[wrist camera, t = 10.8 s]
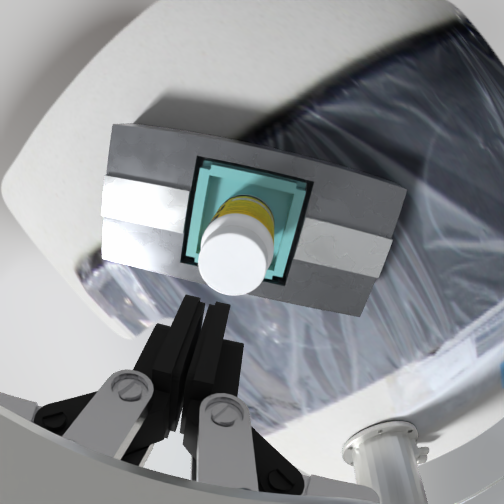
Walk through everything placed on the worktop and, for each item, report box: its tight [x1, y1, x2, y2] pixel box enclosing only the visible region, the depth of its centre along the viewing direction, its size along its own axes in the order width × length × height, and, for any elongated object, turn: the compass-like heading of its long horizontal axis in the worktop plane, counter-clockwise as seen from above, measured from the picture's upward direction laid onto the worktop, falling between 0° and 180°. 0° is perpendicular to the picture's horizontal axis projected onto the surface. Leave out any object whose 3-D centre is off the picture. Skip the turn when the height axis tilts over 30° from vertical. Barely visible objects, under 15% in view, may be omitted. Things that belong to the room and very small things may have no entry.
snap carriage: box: [186, 158, 307, 280], centre depth 26 cm, size 8×8×3 cm
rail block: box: [101, 123, 407, 317], centre depth 27 cm, size 24×12×4 cm, turn 78°
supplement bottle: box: [198, 194, 274, 295], centre depth 22 cm, size 5×5×8 cm
